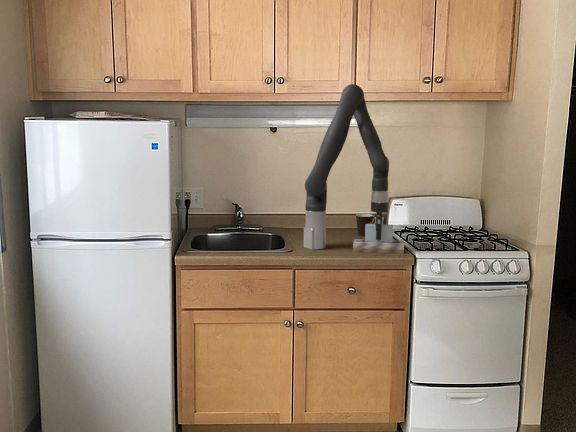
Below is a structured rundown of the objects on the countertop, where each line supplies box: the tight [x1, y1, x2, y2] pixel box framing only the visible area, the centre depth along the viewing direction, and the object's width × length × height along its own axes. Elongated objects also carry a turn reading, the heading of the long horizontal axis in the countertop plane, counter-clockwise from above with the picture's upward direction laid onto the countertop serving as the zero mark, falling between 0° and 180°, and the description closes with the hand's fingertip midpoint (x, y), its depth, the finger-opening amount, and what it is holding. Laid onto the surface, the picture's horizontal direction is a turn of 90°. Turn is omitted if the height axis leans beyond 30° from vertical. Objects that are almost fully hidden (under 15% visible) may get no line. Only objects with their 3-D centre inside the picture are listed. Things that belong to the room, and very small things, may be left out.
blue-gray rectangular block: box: [364, 223, 394, 243], centre depth 255 cm, size 12×4×8 cm, turn 80°
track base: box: [352, 238, 405, 254], centre depth 255 cm, size 22×9×4 cm, turn 80°
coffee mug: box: [355, 213, 375, 237], centre depth 290 cm, size 12×9×10 cm
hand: (378, 239), depth 255 cm, fingers closed on blue-gray rectangular block, 3 cm apart
